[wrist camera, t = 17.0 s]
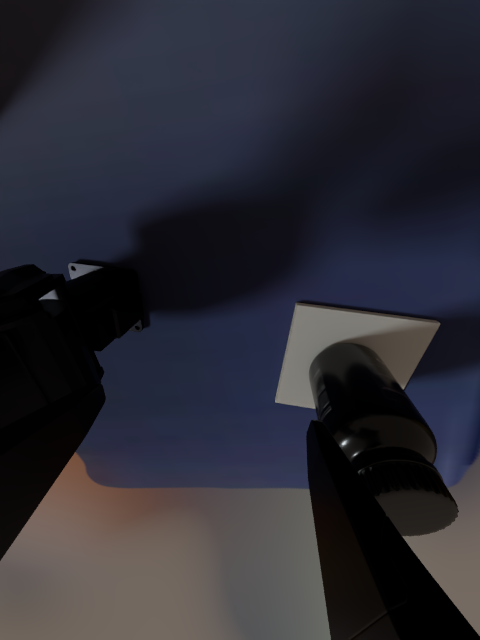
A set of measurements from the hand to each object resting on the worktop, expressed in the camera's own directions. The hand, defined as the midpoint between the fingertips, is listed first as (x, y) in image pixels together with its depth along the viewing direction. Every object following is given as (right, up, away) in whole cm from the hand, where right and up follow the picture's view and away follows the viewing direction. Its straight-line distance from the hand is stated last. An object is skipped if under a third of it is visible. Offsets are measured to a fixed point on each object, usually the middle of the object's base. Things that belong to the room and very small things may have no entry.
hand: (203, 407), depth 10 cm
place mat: (+12, -1, +13) cm, 18 cm away
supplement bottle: (+12, -1, +13) cm, 18 cm away
